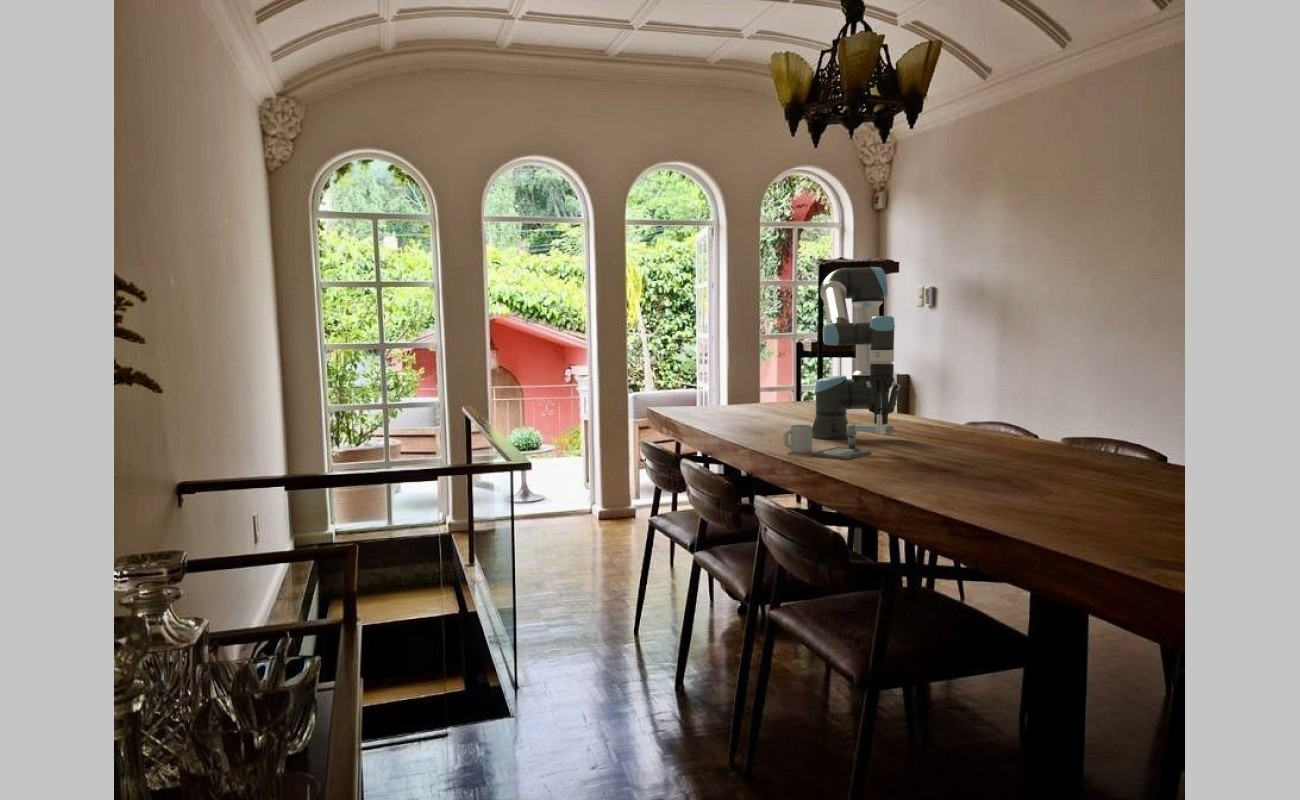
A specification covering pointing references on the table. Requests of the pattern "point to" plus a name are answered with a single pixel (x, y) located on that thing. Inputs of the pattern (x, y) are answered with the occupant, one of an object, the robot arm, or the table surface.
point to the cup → (799, 438)
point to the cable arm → (866, 429)
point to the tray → (843, 451)
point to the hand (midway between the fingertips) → (880, 433)
